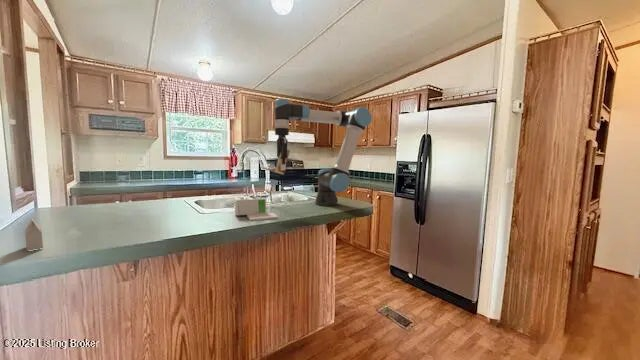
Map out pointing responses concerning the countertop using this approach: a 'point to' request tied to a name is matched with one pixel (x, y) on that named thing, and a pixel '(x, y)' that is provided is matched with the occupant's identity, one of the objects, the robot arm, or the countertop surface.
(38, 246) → the tea bag
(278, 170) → the wooden bracket
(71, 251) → the countertop surface
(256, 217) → the mat
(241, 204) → the skincare box
